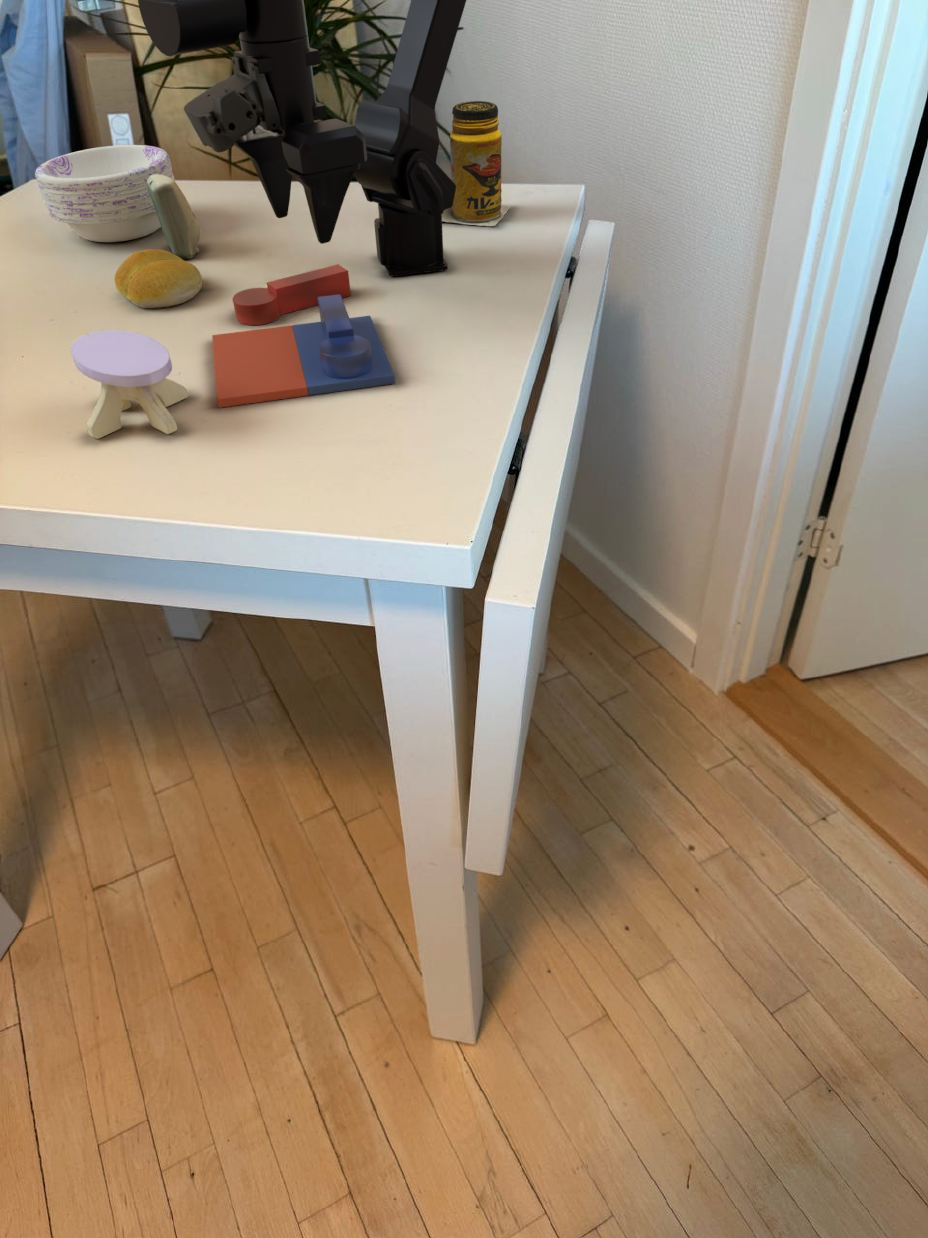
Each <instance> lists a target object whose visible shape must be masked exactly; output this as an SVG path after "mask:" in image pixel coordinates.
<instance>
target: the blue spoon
mask: <svg viewBox="0 0 928 1238" xmlns="http://www.w3.org/2000/svg"><path fill="white" fill-rule="evenodd" d="M317 306H318V312H319V320H320V322H321V325H322V328H323V331H324V335H325V338H326V340H324V341H323V342H322V343H321V344H320V345H319V353H320V360H321V367H322V371H323V373H324V374H325V375H327V376H329V377H333V378H338V379H348V378H355V377H359V376H362V375H364V374H366V373H367V372H369V371H370V370H371V368H372V356H371V347H370V342H369V341H368V340H367V339H366V338H364V337H362V336H358V335H354V331H353V327H352V324H351V321H350V319H349V318H350V316H349V314H348V313H349V312H348V311H347V308H346V305H345V303H344V299H343V298H342V297H341V295H340V294H339V295H330V296H322V297H318V305H317Z"/></svg>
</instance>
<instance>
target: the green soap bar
mask: <svg viewBox="0 0 928 1238" xmlns="http://www.w3.org/2000/svg"><path fill="white" fill-rule="evenodd" d="M147 189H148V192H149V195H150V198H151V200H152V202H153V205H154V208H155V211H156V214H157V216H158V219H159V222H160V225H161V227H160V228H161V231H162V233H163V236H164V238H165V241H166V243H167V246H168V249H169V252H170V253H172V254H174V255H176V256H178V257H180V258H181V259H182V260H184V261H185V260H189V259H192V258H194V257H195V255H196V254H198V253H199V252H200V248H199V247H198V244H199V242H200V239H201V234H202V233H201V226H200V222H199V220H198V219H197V217H196V216H195V214H194V211H193V209H192V207H191V204H190V203H189V201H188V199H187V198H186V196H185V194H184V193H183V190H182V189H181V188H180V187H179V185H178V184H177V182H176V180H175V181H174V180H173V179H171V178H170V177H167V176H164V175H160V174H154V175H151V176H150V177H149V178H148V180H147Z"/></svg>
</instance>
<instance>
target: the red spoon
mask: <svg viewBox="0 0 928 1238" xmlns="http://www.w3.org/2000/svg"><path fill="white" fill-rule="evenodd" d="M266 286H267V287H252V288H251V287H250V288H247V289H243V290H241V291H238V292H235V294H234V295H233V296H232V304H233V309H234V314H235V319H236V321H237V322H238V323H240V324H242V325H246V326H262V325H263V326H264V325H267V324H271V323H273V322H275V321H277V320H279V319H280V318H281V316H282V315H286V314H290V313H292V312H296V311H301V310H303V309H307V308H311V307H314V306H319V305H318V297H322V296H330V295H339V294H340V295H341V297H342V299H343V298H347V297H351V296H352V293H351V284H350V275H349V270H348V269H346V268H345V267H344V266H342V265H340V264H339V263H338V264H334V265H329V266H325V267H321V268H317V269H314V270H310V271H306V272H302V273H299V274H294V275H291V276H286V277H283V278H280V279H279V278H278V279H274V280H270V281H267V282H266Z"/></svg>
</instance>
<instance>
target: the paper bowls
mask: <svg viewBox="0 0 928 1238" xmlns="http://www.w3.org/2000/svg"><path fill="white" fill-rule="evenodd" d="M154 174H160V175H164V176H167V177H170V178H171V179H173V180H174V181H175V182H176V179H175V175H174V173H173V165H172V162H171V158H170V155H169V153H167V151H166V150H164V149H163V148H161V147H157V146H154V145H147V144H116V145H107V146H97V147H93V148H87V149H86V148H85V149H82V150H77V151H74V152H70V153H65V154H62V155H60V156H56V157H54V158H51V159H49V160H47V161H45V162H43V163H41V164H40V165H39V166H38V167H37V168H35V172H34V177H35V179H36V183H38V188H39V192H40V194H41V197H42V200H43V201H44V206H45V209H46V211H47V212H48V215H49V217H50V218H52V219H53V220H54V221H58V222H60V223H66V224H68V225H69V227H70V228H71V230H73V231H74V233H75V234H77V235H78V237H80V238H82V239H84V240H86V241H91V242H97V243H120V242H125V241H132V240H136V239H139V238H143V237H145V236H150V235H151V234H153V233H155V232H157V231H158V230H159V229H160V228H161V225H160V222H159V219H158V216H157V214H156V211H155V208H154V205H153V202H152V200H151V198H150V195H149V192H148V189H147V180H148V178H149V177H150V176H151V175H154Z"/></svg>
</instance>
